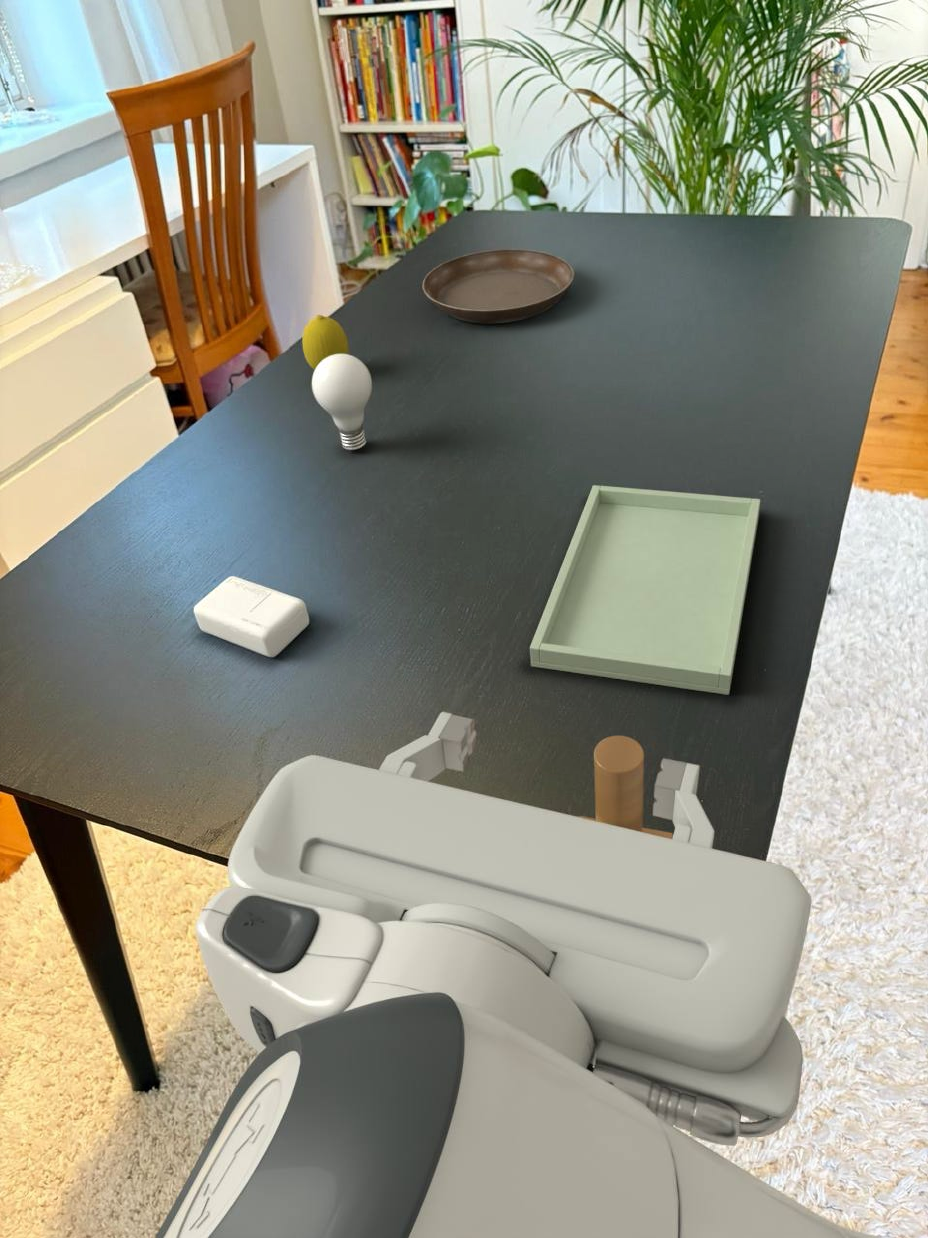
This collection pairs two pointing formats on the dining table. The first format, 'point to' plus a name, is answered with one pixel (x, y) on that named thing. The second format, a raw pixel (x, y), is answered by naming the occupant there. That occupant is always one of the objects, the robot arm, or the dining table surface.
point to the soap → (252, 616)
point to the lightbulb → (344, 395)
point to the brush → (620, 784)
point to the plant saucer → (498, 285)
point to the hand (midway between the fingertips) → (566, 747)
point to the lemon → (323, 340)
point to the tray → (651, 589)
